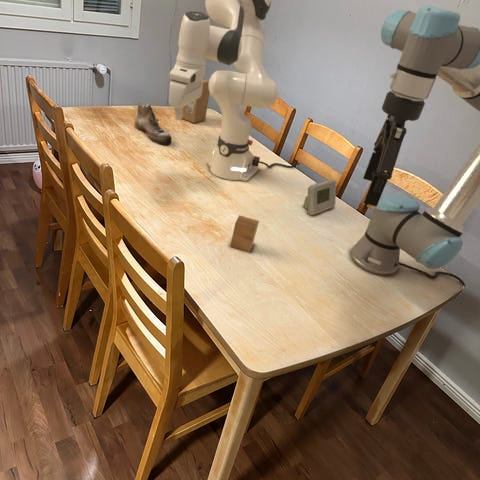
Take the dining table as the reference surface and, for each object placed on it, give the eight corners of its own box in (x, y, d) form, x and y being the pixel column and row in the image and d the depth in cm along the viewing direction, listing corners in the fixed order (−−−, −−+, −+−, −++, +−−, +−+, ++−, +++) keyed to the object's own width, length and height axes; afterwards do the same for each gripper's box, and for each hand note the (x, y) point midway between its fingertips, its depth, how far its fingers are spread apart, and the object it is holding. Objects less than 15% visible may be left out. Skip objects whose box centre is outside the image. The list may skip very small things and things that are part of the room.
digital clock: (309, 217, 160) (317, 191, 154) (294, 205, 166) (301, 179, 160) (340, 211, 169) (349, 186, 163) (324, 200, 175) (332, 175, 169)
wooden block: (194, 123, 220) (199, 83, 210) (178, 117, 224) (183, 77, 213) (205, 120, 228) (211, 81, 218) (190, 114, 232) (195, 75, 221)
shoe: (175, 145, 192) (178, 118, 185) (151, 146, 186) (153, 118, 180) (154, 124, 209) (157, 98, 202) (132, 124, 203) (133, 97, 197)
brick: (234, 238, 138) (239, 215, 134) (253, 244, 138) (259, 220, 133) (230, 246, 134) (235, 222, 130) (249, 252, 134) (255, 228, 129)
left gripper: (191, 64, 143) (186, 107, 150) (167, 73, 126) (162, 120, 133) (210, 69, 142) (203, 111, 149) (187, 79, 125) (182, 126, 132)
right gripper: (385, 79, 97) (353, 167, 108) (392, 105, 76) (352, 210, 87) (418, 87, 96) (383, 175, 108) (435, 116, 75) (389, 221, 87)
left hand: (184, 116), depth 141 cm, fingers open, 8 cm apart
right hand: (369, 191), depth 98 cm, fingers open, 13 cm apart
